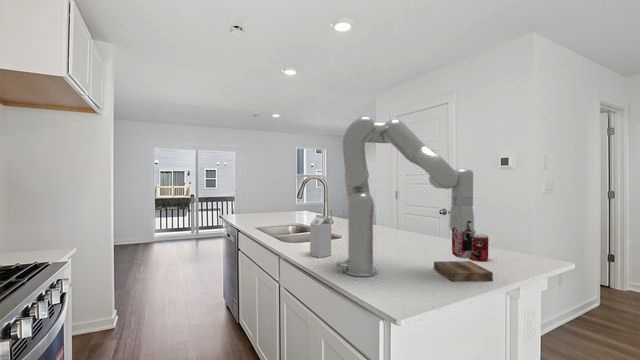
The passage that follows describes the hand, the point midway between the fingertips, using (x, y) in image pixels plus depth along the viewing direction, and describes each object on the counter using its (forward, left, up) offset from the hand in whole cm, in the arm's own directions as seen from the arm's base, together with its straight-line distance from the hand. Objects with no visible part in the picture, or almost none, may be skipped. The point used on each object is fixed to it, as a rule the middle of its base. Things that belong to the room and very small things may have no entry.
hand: (462, 247), depth 118 cm
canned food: (+19, +21, -10) cm, 30 cm away
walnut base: (0, 0, -10) cm, 10 cm away
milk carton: (-52, +31, -10) cm, 61 cm away
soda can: (0, 0, -3) cm, 3 cm away
